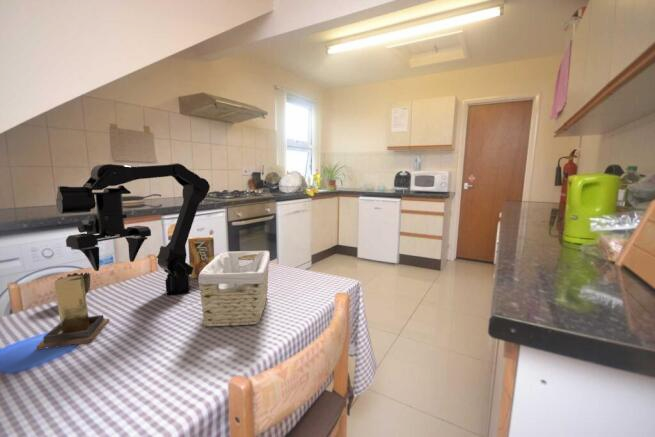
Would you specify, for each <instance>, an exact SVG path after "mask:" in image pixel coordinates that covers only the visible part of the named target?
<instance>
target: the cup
mask: <svg viewBox="0 0 655 437" xmlns="http://www.w3.org/2000/svg"><path fill="white" fill-rule="evenodd" d="M70 276H83V280H84V287H85V295H86V296H87V294H88V293H89V291H90V288H91V273H89V272H84V273H83V272H81V273H80V274H79V273H78V272H74V273H72V274H70V273H69V274H67V275H66V277H70ZM61 278H64V277H63V276H60V277H58V278H57V280H58V279H61Z"/></svg>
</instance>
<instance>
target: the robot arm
mask: <svg viewBox="0 0 655 437" xmlns="http://www.w3.org/2000/svg"><path fill="white" fill-rule="evenodd" d="M166 177H173V178H174V179H175V181H176V182H177V183H178V184H179V185H181V186H182V199H183V201H182V204H181V208H180V210H179V214H178V216H177V219H176V223H175V226H174V228H173V230H172V233H171V234H172V235H171V237H170V241H169V242H168V243H167V244H166V246H162V245H160V247H159V252H158V254H157V256H156V259H157V264H158V266H159V268H161V269H163V270H164V272H165V273H166V278H165V282H164V283H165V291H166V296H172V295H173V296H175V295H184V294H189V293H190V291H191V289H192V285H191V280H190V279H191V278H190V274H192V271H193V267H191V266H190V264H189V263H187V262H186V261H187V249H186V244H187V241H188V238H189V235H190V231H191V229H192V226H193V224H194V221H195V219H196V218H195V217H196V214H197V211H198V208H199V205H200V204H201V203H202V202H203V201H204V200H205V199H206V197H207V195H208V193H209V191H210V188H211V185H210V183H209V181H208V180H207V179H206V178H203V177H201V176H199V175H198V174H197V173H195V172H193V171H191V170H190V169H188V168H187V167H186V166H184V165H183V164H181V163H178V162H177V163H176V162H175V163H170V164H158V165H157V164H156V165H142V166H141V165H139V166H131V165H120V164H113V163H109V164H108V163H107V164H106V163H105V164H97V165H95V166H94V167H92V169H91V171H90V177H89V178H88V180H86V182H85V183H84V184H83V185H82V186H66V185H65V186H64V185H58V186H57V193H56V199H55V204H56V208H57V211H58V213H59V215H65V214H66V215H67V214H68V215H69V214H83V213H90V212H92V211H91V210H93V209H95V208H96V214H94V216H93V221H89V220H88V219H80V220H78V221H76V222H77V230H78V232H79V233H77V234H72V235H71V234H69V235H68V236H67V237H66V239H65V245H66V247H68V248H73V249H74V250H77V251H80V252H82V253H83V255H84V256H85V257H86V258H87V260H88V262H89V263H90V265H91V267H92V268H93V270H94V271H95V272H99V270H100V247H99V246H96V245H97V244H99V243H98V242H105V241H110V240H116V239H121V238H122V239H123V238H124V239H125V240H126V242H127V244H128V258H129V261H130V262H132V263H133V262H135V259H136V258H137V256H138V252H139V250H140V249H141V248H142V246H143V244H144V242H145V241H146V240H148V237H151V236H152V230H151V228H150V227H149V226H144V225H134V226H133V225H132V226H127V227H125V219H127V218H128V217H127V216H128V215H127V213H124V204H123V195H129V194H131V193H132V192H131V191H130V190H129V189H127V188H126V187H125V186H124V185H123V184H128V183H131V182H133V181H137V180H145V179H154V178H155V179H156V178H166ZM116 186H117V187H116ZM102 190H103V191H102ZM93 191H94V192H93ZM95 191H96V192H95Z"/></svg>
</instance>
